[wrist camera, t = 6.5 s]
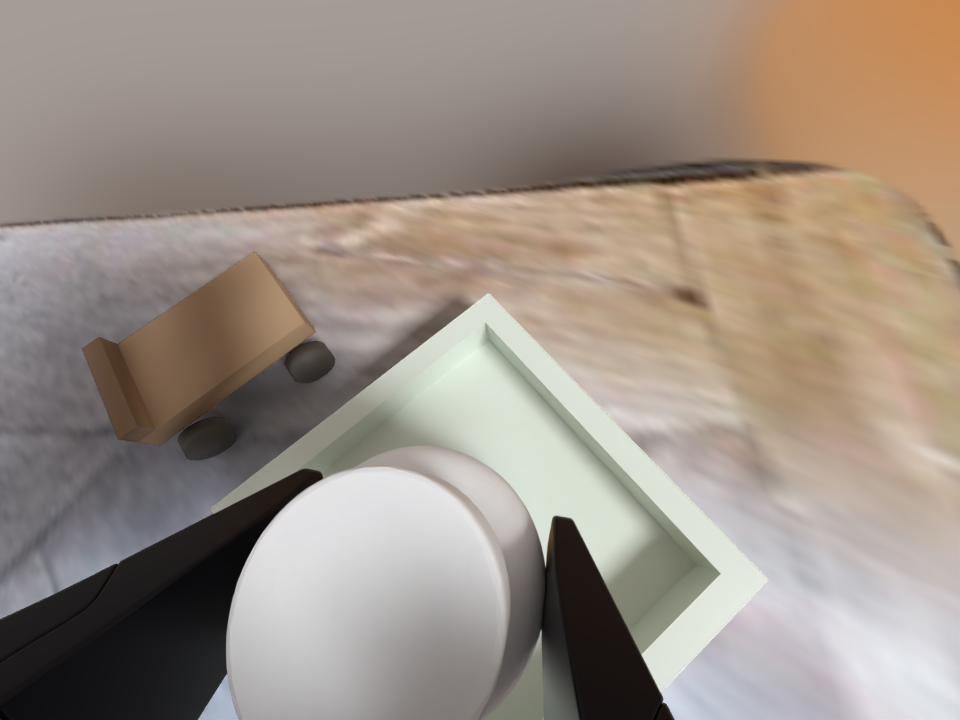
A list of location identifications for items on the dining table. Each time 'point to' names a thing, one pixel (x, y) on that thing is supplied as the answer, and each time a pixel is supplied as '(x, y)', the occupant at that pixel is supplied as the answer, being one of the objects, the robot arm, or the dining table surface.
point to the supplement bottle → (389, 595)
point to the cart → (203, 359)
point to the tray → (545, 481)
